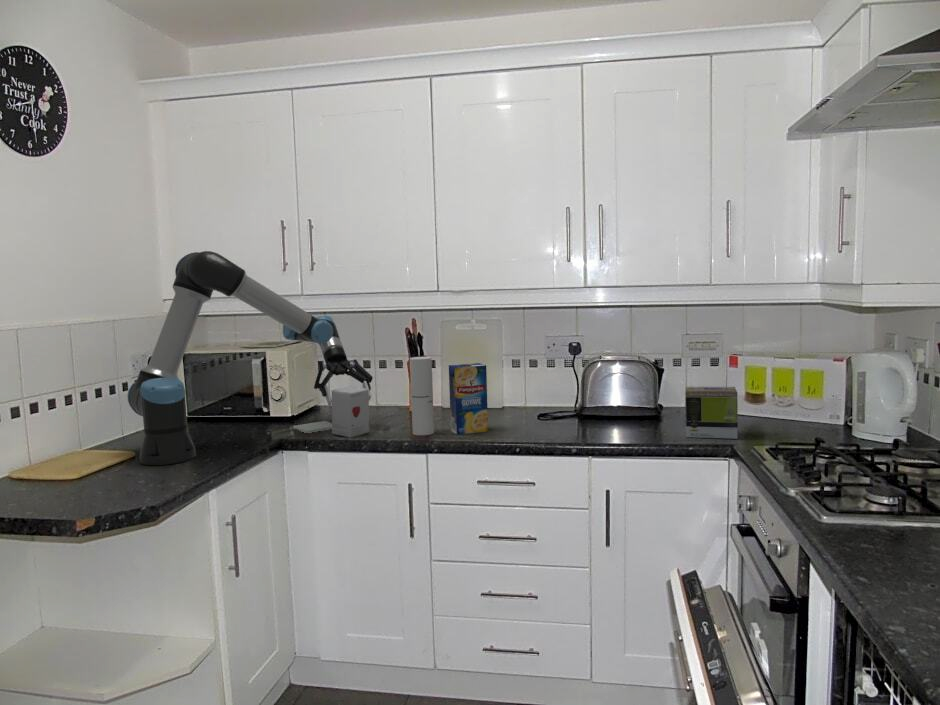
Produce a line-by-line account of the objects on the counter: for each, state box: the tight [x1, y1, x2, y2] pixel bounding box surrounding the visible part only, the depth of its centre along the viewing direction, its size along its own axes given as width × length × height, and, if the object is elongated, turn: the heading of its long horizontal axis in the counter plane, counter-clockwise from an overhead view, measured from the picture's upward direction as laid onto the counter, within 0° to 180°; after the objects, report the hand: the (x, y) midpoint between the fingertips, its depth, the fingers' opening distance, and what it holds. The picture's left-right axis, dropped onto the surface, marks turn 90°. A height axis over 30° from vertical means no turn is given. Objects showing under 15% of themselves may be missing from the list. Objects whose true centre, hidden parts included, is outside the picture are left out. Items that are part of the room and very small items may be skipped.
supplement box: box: [331, 386, 370, 438], centre depth 226 cm, size 9×9×15 cm
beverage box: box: [448, 362, 489, 436], centre depth 225 cm, size 7×11×22 cm, turn 109°
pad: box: [292, 420, 332, 434], centre depth 237 cm, size 12×11×1 cm
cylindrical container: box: [409, 356, 435, 436], centre depth 224 cm, size 7×7×25 cm
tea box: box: [684, 386, 739, 440], centre depth 210 cm, size 15×10×15 cm, turn 72°
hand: (350, 400), depth 229 cm, fingers open, 13 cm apart
